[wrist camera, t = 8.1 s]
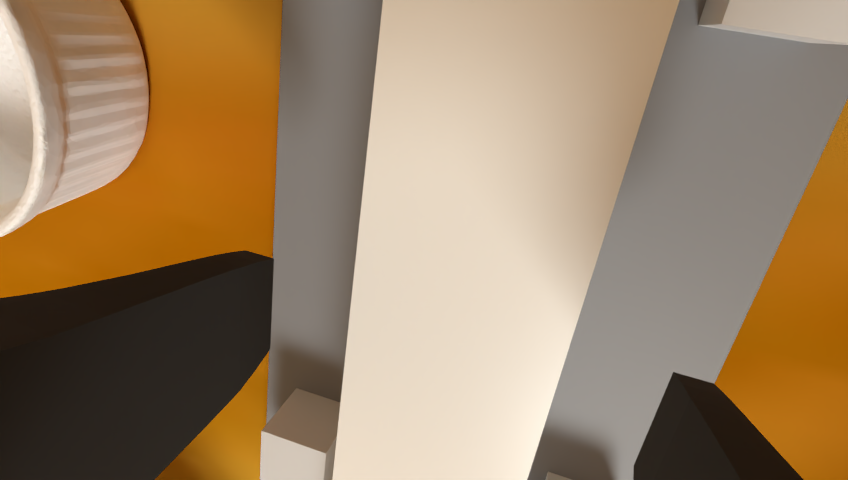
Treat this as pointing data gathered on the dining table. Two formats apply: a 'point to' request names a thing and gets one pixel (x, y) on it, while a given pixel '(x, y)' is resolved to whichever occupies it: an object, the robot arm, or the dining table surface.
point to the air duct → (483, 223)
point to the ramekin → (66, 102)
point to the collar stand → (624, 239)
